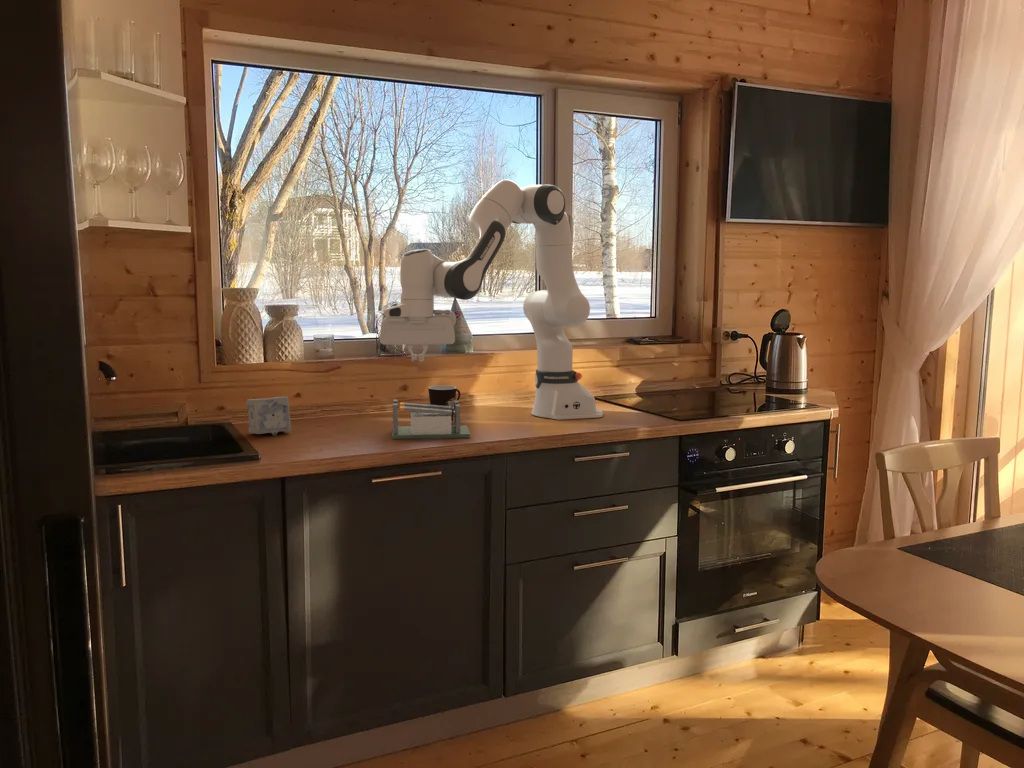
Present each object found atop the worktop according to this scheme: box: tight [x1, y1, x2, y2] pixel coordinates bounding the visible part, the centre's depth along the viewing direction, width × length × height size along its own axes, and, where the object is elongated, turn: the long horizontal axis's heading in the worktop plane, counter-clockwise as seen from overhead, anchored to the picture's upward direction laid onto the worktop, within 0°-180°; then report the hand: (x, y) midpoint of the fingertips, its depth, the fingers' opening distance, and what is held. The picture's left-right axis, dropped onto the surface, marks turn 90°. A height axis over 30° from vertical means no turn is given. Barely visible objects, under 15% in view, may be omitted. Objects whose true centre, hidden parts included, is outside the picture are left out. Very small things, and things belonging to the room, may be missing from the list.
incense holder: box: [245, 395, 292, 436], centre depth 224 cm, size 10×8×10 cm
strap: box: [399, 405, 452, 414], centre depth 223 cm, size 14×3×1 cm, turn 97°
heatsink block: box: [391, 399, 471, 440], centre depth 226 cm, size 21×12×9 cm, turn 97°
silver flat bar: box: [399, 401, 451, 410], centre depth 228 cm, size 14×3×1 cm, turn 97°
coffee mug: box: [427, 384, 461, 422], centre depth 246 cm, size 12×9×10 cm
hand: (417, 361), depth 220 cm, fingers closed
